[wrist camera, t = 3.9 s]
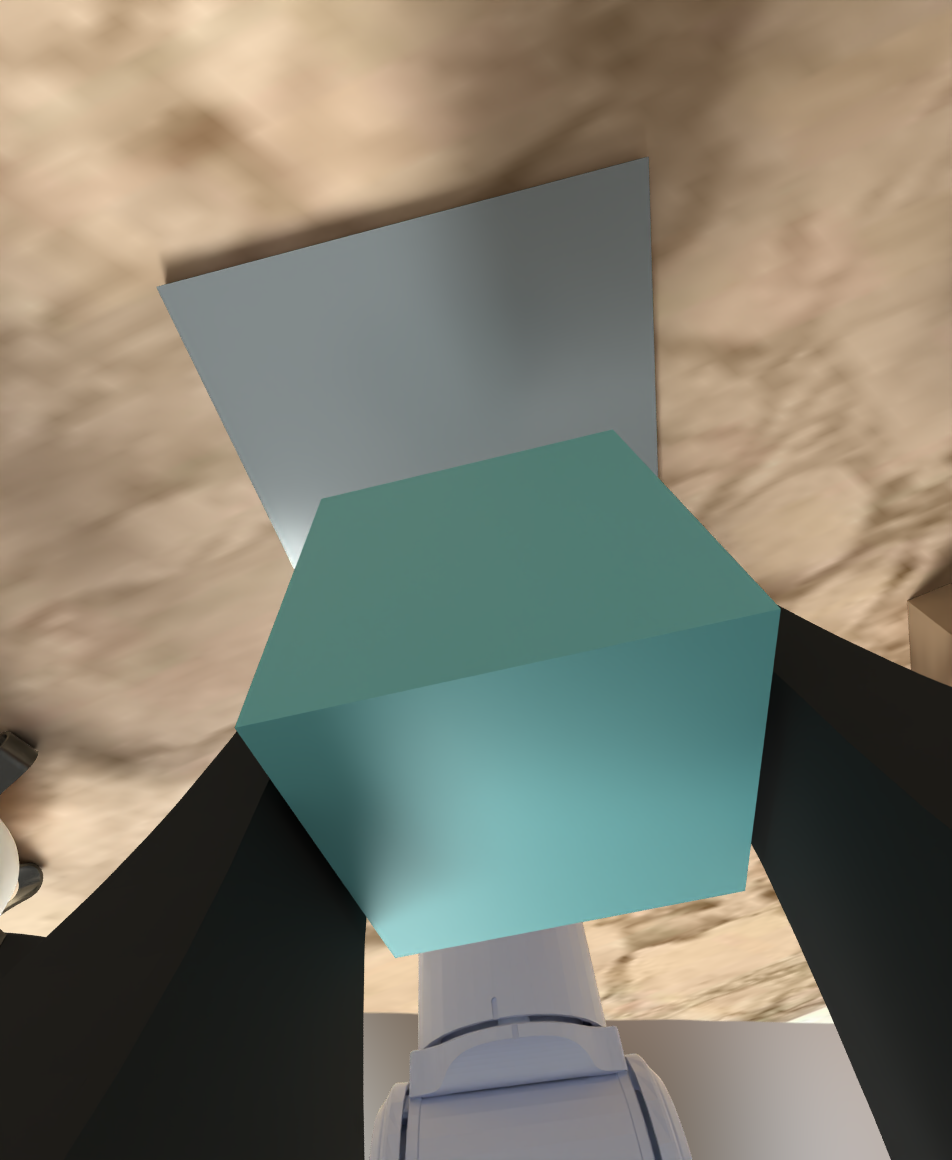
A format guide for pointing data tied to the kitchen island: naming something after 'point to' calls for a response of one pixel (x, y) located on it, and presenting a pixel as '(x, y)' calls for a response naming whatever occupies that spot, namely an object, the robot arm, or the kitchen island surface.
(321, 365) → the slate coaster
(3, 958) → the coffee press
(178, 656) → the kitchen island surface
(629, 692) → the teal block
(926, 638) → the walnut block
